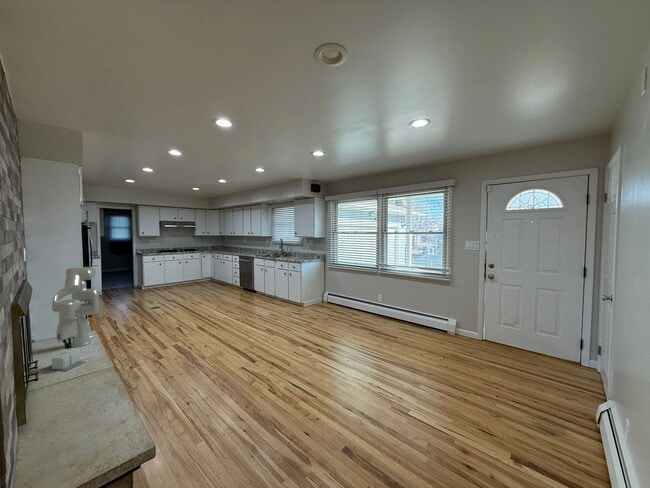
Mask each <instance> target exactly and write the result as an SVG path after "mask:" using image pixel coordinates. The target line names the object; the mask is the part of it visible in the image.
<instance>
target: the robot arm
mask: <svg viewBox="0 0 650 488" xmlns="http://www.w3.org/2000/svg"><path fill="white" fill-rule="evenodd" d="M96 274H97V273H96V268H95V267H94V266H81V267H80V266H79V267H71V268H70V267H69V268H67V269H66V270H65V275H66V276H65V282H64V287H63V288H61V289H59V290H58V291H57V293H56V294H54V295H53V298H52V302H51V310H52V311H53V313H58V322H59V323H58V324H57V327H56V333H55V334H56V335H55V336H56V337H55V338H56V340H57V342H58V343H63V344H64V349H65V350H71V349H72V348H79V347H82V346H83V345H84V346H86V345H89V344H90V343H92V339H93V338H95V334H93V335H89V322H88V319H87V318H86V317H85V316H92V315H96V314H98V313H99V309H100V304H99V303H100V296H99V290H98V289H97V288H87V282H86V281H90V280H93V278H95V276H96ZM69 295H71V299H63V298H64V297H66V296H69Z"/></svg>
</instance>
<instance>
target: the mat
mask: <svg viewBox="0 0 650 488" xmlns="http://www.w3.org/2000/svg"><path fill="white" fill-rule="evenodd" d="M86 363H87V362H86V361H81V360H80V361H78V362H76V363H74V364H72V365H70V366H68V367H66V368H64V369H52V364H50V365H47V366H46V367H45V366H44V367H43V368H42V369H43V370H48V371H49V370H50V371H59V372H68V371H70V370H72V369H75V368H78V367H80V366H82V365H83V364H86Z"/></svg>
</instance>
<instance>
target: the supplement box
mask: <svg viewBox="0 0 650 488" xmlns="http://www.w3.org/2000/svg"><path fill="white" fill-rule="evenodd" d="M78 361H81V350H80V349H68V350H65V351H64V352H61V353H60V354H57V355H56V356H53V357H51V365H52V369H64V368H66V367H68V366H70V365H72V364H74V363H76V362H78Z"/></svg>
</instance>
